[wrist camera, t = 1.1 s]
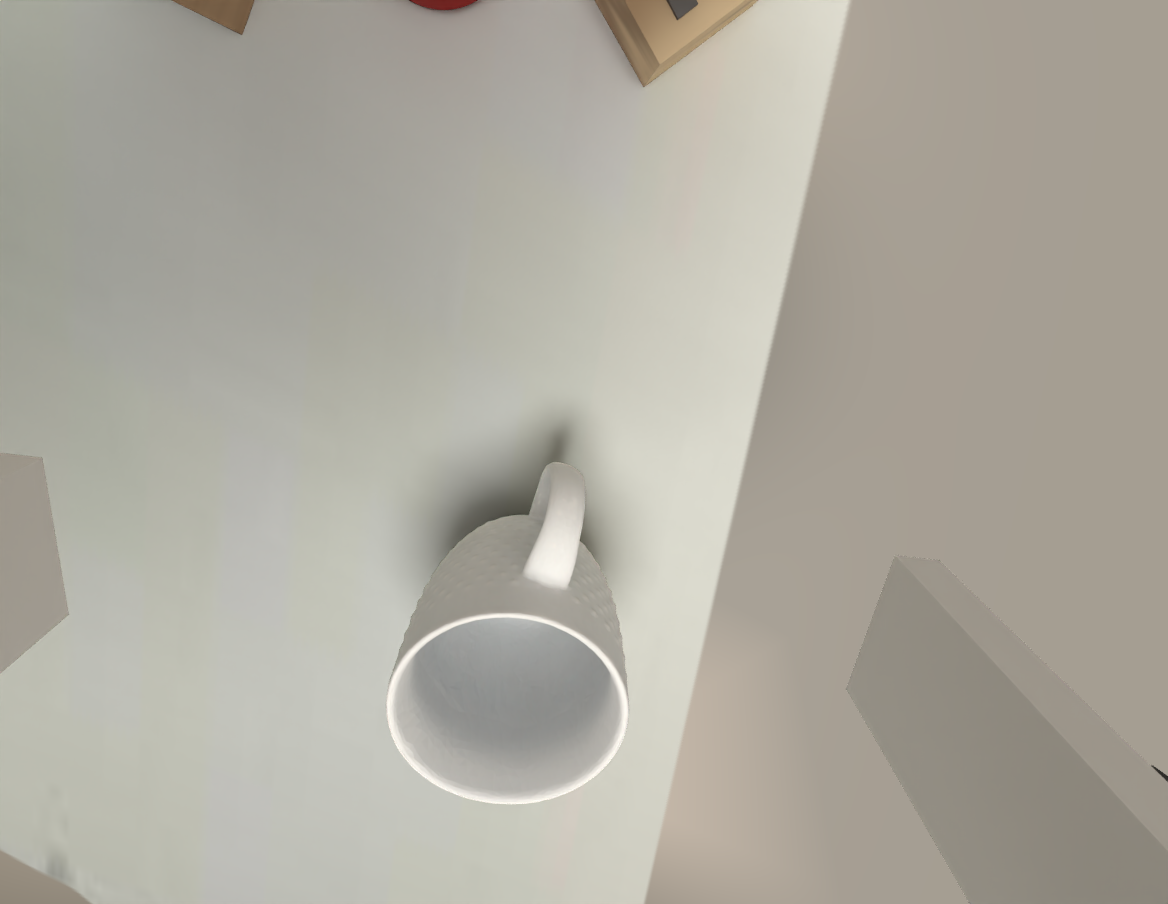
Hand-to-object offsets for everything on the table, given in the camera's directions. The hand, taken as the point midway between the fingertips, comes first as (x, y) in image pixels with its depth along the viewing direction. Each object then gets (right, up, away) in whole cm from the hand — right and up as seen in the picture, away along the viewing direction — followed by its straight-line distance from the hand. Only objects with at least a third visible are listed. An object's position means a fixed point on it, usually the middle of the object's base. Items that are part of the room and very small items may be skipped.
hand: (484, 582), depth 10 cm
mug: (-2, -4, +31) cm, 31 cm away
